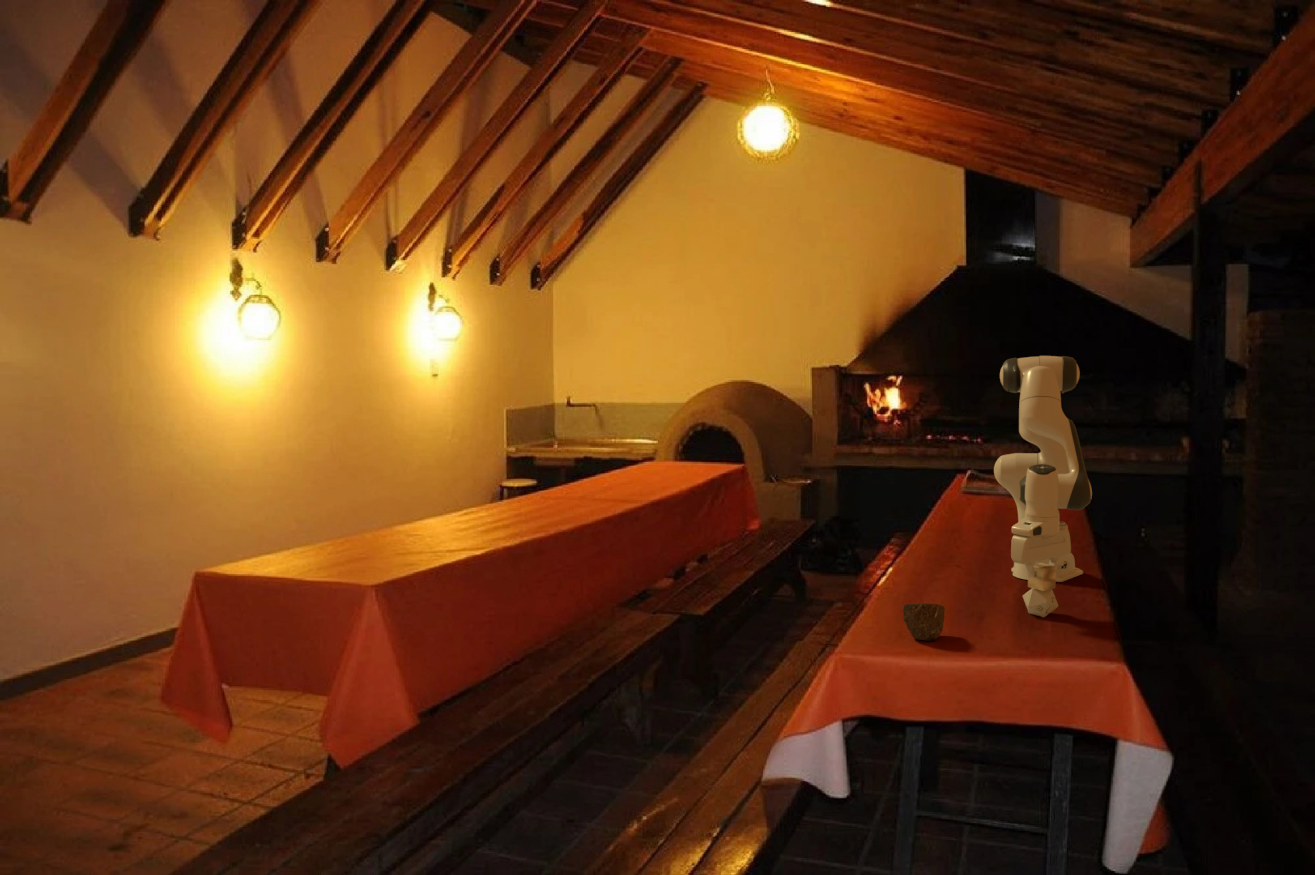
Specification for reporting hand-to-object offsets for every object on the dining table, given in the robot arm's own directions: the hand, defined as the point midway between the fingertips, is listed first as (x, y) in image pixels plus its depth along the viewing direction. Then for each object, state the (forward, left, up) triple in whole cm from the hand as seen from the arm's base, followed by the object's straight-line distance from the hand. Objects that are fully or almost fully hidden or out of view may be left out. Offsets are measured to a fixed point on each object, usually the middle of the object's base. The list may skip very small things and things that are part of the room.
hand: (1041, 575), depth 272 cm
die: (0, 0, -11) cm, 11 cm away
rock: (+40, -3, -11) cm, 42 cm away
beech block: (0, 0, -3) cm, 3 cm away
